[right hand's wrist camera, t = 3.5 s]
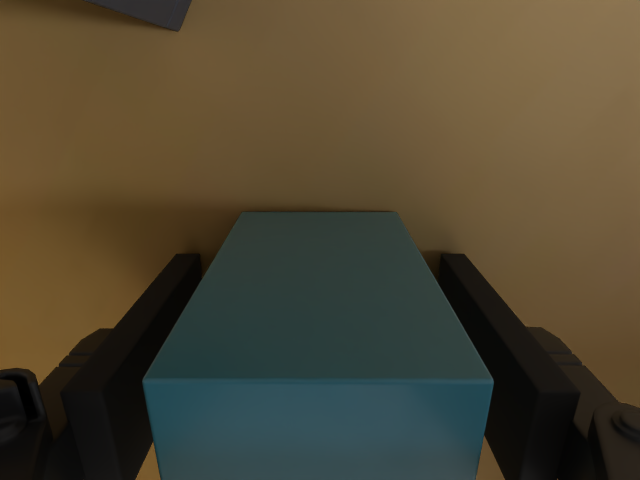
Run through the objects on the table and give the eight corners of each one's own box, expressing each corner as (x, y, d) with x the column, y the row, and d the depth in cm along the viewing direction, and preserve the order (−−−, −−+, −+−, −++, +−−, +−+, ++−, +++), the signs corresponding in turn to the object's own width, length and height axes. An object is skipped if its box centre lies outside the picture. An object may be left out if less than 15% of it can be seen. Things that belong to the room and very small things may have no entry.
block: (241, 210, 13) (139, 380, 6) (397, 211, 13) (496, 380, 6) (250, 342, 15) (182, 601, 8) (387, 342, 15) (453, 600, 8)
